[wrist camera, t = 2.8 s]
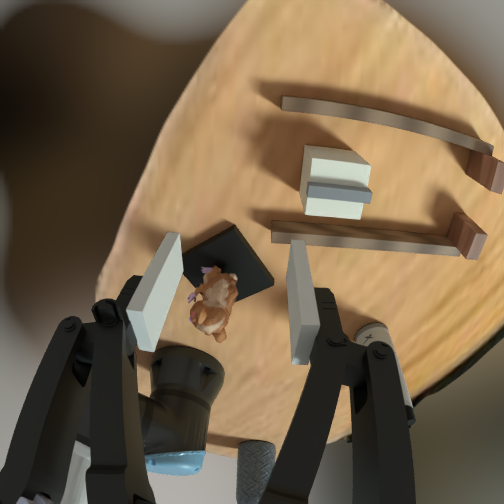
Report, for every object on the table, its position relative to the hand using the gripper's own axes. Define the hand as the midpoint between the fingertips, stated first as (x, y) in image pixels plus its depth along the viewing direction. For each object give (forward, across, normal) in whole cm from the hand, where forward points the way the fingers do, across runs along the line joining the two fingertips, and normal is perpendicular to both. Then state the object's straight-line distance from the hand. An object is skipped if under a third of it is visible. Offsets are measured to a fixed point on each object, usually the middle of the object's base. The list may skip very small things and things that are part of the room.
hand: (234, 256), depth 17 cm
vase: (+19, +6, -87) cm, 89 cm away
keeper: (+19, +9, 0) cm, 21 cm away
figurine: (+19, -3, -15) cm, 25 cm away
